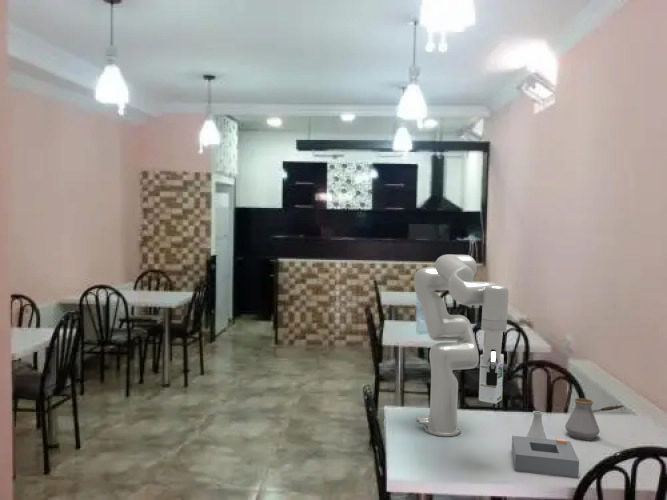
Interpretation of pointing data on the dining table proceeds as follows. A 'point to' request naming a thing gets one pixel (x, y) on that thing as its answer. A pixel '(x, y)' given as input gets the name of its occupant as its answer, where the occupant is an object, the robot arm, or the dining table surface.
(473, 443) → the dining table surface
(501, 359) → the syrup box
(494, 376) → the robot arm
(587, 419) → the coffee pot
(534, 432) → the flask
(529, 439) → the socket block
